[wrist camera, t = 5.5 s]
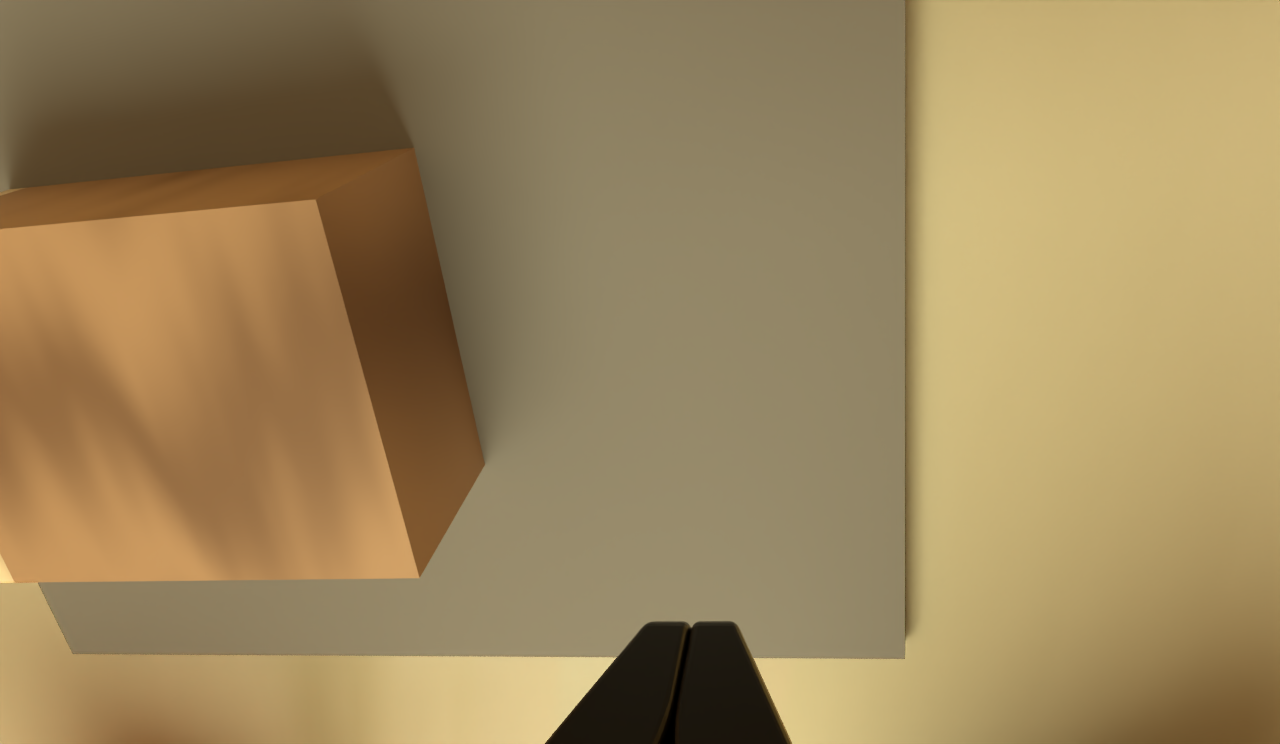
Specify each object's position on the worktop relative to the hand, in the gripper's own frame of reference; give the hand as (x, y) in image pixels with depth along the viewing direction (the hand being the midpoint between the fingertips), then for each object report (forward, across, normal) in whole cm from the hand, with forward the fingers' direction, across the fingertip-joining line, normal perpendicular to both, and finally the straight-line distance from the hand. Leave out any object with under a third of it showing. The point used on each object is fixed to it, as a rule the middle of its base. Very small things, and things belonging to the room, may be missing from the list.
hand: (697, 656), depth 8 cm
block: (+8, +6, 0) cm, 10 cm away
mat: (+10, +8, 0) cm, 13 cm away
